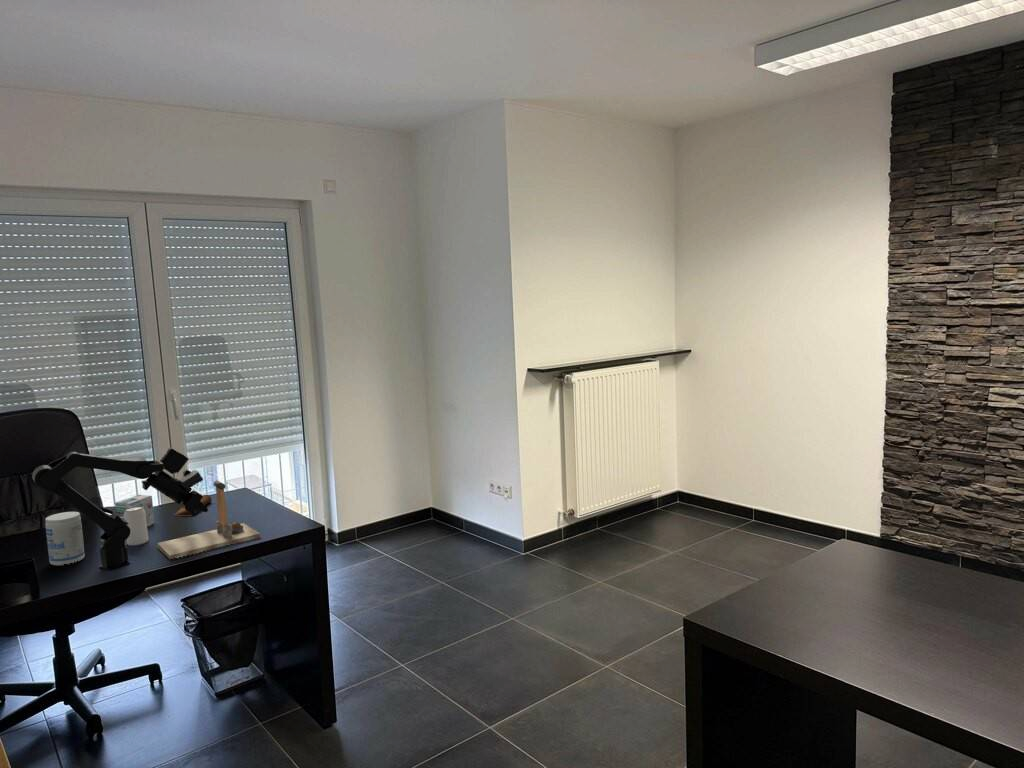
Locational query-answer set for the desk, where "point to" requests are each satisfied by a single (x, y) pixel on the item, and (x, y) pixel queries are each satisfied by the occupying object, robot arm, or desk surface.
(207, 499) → the brown bread roll
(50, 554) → the supplement tub
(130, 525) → the can
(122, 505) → the light bulb box
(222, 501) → the lever
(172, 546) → the board
